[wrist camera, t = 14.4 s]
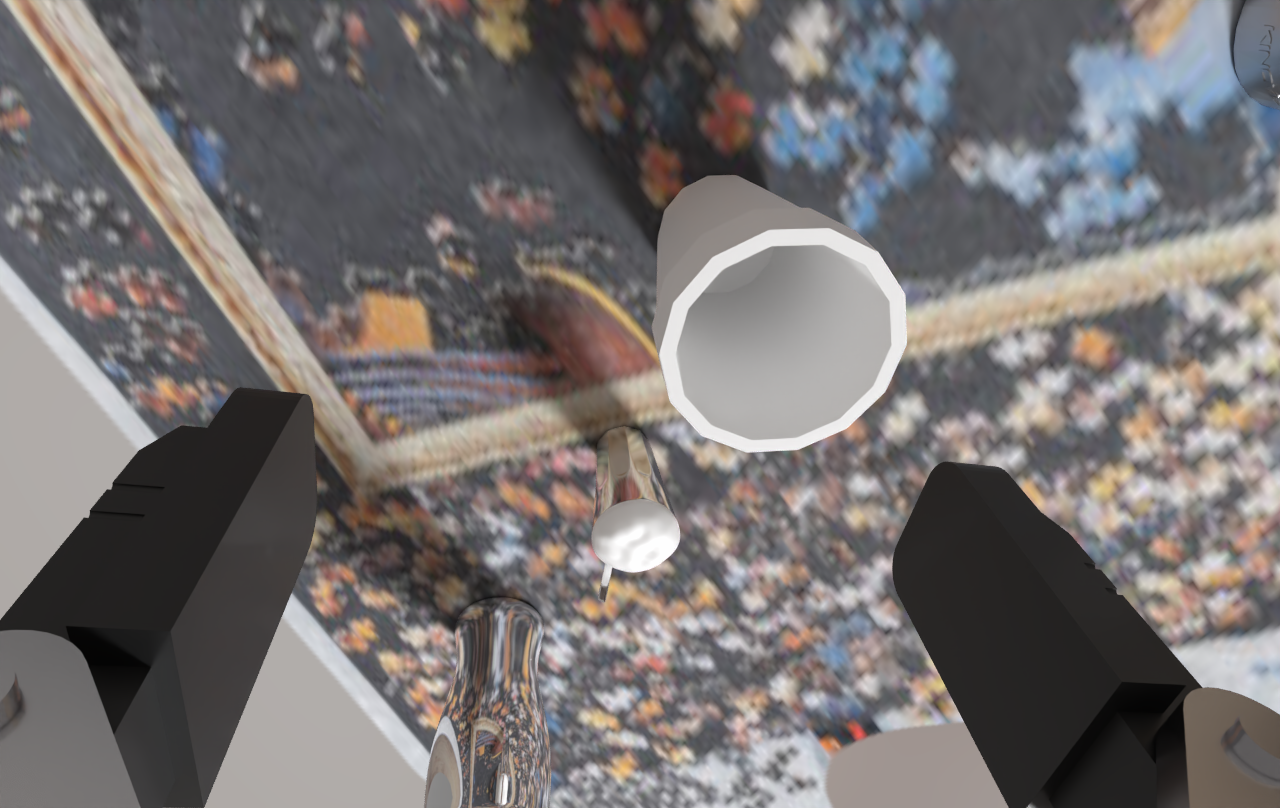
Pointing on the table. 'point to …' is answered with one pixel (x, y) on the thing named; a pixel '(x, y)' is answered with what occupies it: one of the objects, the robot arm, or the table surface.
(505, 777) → the beer glass
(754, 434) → the foam cup
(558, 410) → the table surface
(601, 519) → the milkshake
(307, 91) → the table surface
